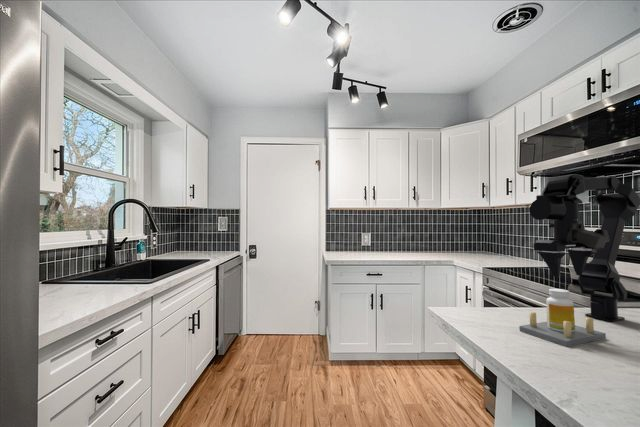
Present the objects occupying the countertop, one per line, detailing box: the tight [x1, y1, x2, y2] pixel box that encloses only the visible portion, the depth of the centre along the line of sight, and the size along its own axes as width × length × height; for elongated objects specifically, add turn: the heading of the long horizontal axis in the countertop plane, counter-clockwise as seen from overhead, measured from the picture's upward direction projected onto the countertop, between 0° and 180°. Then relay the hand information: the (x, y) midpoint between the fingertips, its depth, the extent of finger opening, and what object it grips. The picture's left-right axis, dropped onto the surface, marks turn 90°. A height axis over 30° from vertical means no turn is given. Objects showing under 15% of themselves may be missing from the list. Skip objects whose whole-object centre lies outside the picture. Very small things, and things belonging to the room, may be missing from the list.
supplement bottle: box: [545, 288, 576, 332], centre depth 75 cm, size 5×5×10 cm
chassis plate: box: [518, 311, 607, 348], centre depth 75 cm, size 14×11×5 cm
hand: (568, 276), depth 83 cm, fingers open, 9 cm apart
